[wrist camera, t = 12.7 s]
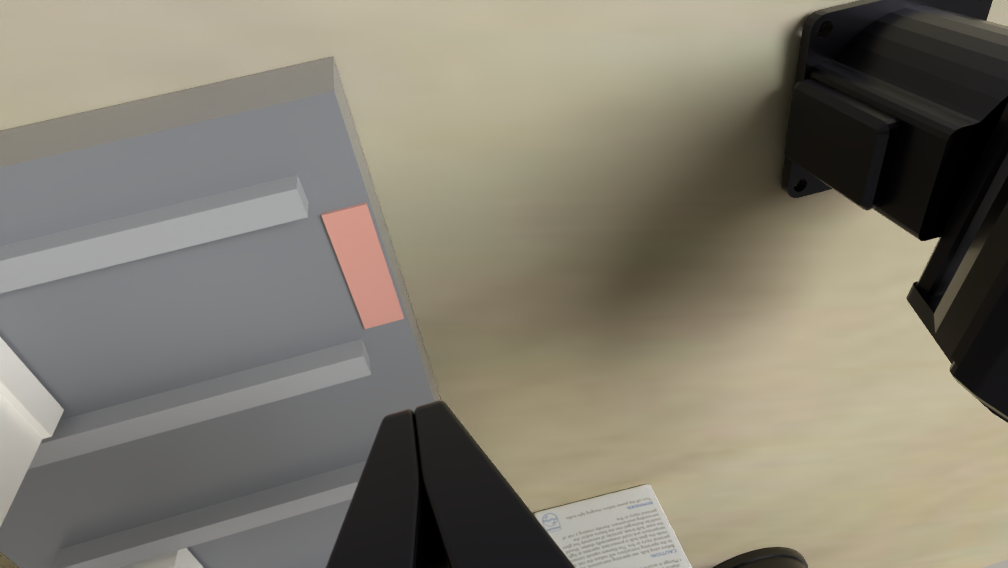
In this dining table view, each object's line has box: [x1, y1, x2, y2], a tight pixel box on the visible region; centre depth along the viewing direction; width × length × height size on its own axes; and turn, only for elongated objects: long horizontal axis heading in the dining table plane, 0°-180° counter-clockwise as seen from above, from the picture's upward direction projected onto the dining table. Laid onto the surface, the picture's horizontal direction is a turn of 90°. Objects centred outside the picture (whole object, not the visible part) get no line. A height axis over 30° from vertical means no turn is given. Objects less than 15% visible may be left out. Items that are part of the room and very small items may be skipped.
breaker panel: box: [0, 57, 441, 568], centre depth 21 cm, size 15×21×4 cm
